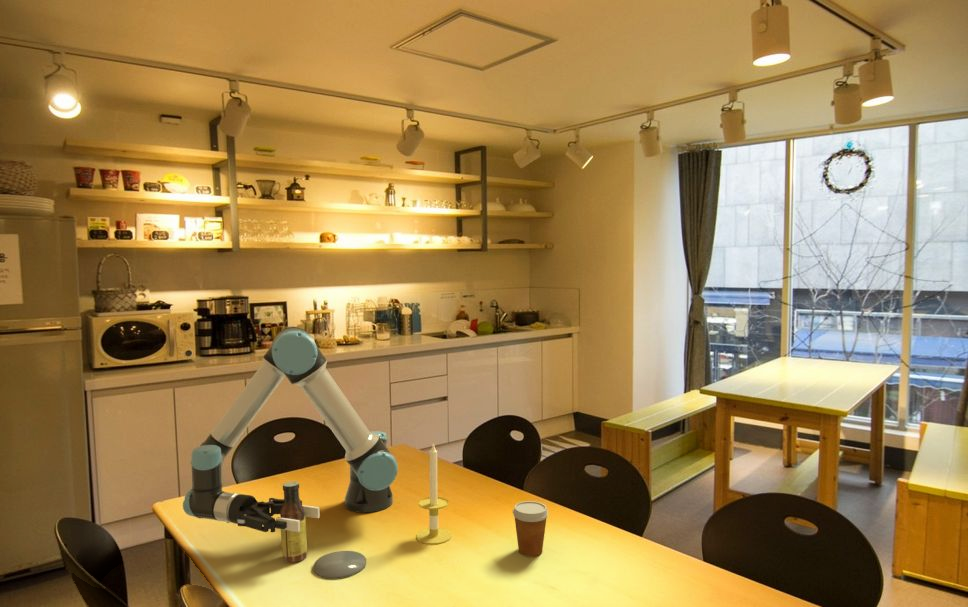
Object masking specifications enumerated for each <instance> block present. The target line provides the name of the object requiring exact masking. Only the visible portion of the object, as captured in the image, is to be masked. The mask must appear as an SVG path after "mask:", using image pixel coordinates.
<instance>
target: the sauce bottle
mask: <svg viewBox="0 0 968 607" xmlns="http://www.w3.org/2000/svg"><path fill="white" fill-rule="evenodd" d="M282 490H283V499H284V504H283V506H282V508H281V511H280V514H279V515H280V516H279V517H282V518H288V519H295V520H300V531H299V532H295V531H289V530H283V529H280V535H281V536H280V538H281V539H280V540H281V541H280V542H281V555H282V560H283V561H284V562H286V563H289V564H291V563H299V562H301V561H303V560H305V559H306V558H307V555H308V553H307V552H308V543H307V526H306V523H307V522H306V517H305V511H304V509H303V506H302V505H303V503H302V504H301V501H302V500H301V499H300V492H299V491H300V483H299V482H298V481H295V480H293V481H287V482H285V483H283V484H282ZM300 500H301V501H300Z"/></svg>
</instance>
